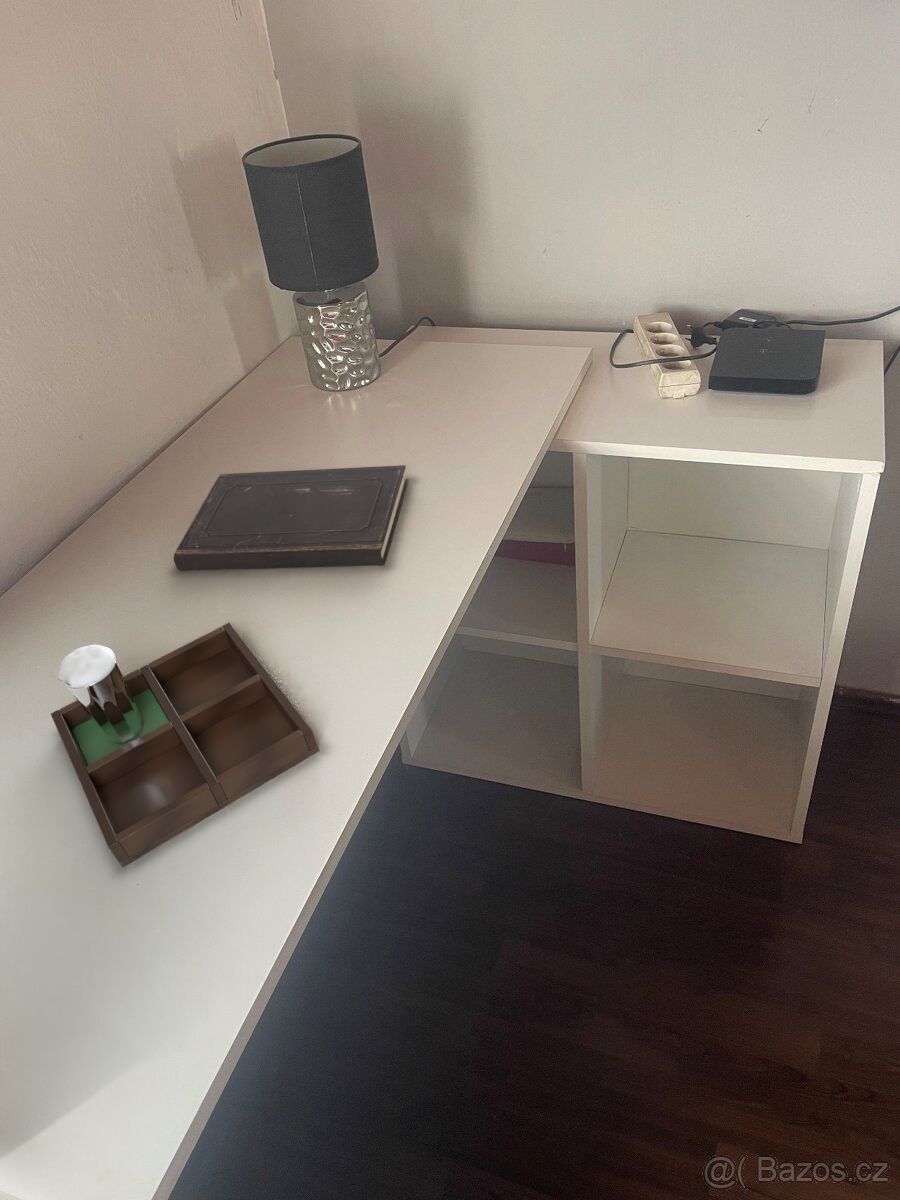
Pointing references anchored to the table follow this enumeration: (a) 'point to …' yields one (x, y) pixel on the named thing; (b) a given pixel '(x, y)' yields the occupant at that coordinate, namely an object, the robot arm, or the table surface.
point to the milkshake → (101, 691)
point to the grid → (185, 743)
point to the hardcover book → (295, 519)
